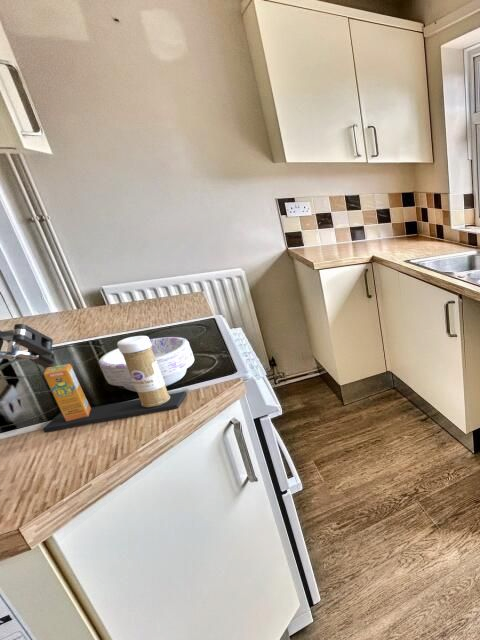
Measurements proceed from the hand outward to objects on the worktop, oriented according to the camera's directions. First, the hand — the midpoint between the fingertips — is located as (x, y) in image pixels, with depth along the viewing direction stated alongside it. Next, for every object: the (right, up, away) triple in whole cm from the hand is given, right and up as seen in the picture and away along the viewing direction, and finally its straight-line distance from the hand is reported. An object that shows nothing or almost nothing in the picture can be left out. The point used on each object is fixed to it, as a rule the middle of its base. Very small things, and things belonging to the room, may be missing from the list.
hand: (14, 366), depth 66 cm
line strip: (+2, -10, +16) cm, 18 cm away
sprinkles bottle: (+8, -8, +17) cm, 21 cm away
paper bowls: (-1, -5, +27) cm, 28 cm away
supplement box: (-3, -10, +13) cm, 17 cm away
